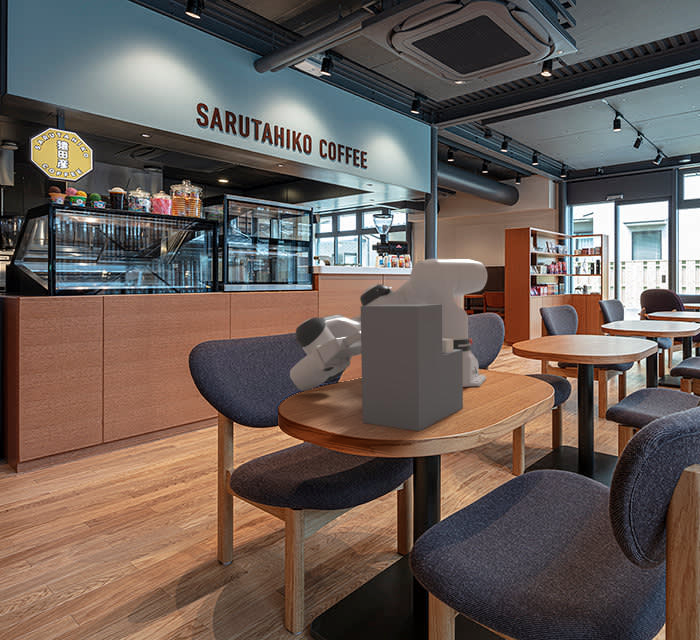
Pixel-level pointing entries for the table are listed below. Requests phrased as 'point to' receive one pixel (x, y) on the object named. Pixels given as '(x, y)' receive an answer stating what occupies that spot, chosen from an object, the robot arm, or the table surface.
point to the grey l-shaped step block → (407, 367)
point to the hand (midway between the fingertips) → (371, 332)
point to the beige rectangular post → (447, 345)
